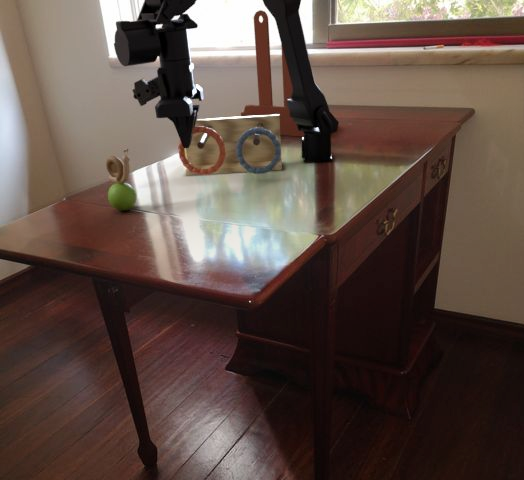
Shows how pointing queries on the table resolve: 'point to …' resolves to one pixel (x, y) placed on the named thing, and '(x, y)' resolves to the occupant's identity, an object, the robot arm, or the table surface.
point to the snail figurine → (120, 183)
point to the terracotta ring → (221, 149)
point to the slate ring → (269, 135)
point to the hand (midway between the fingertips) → (187, 147)
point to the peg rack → (235, 143)
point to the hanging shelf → (265, 81)
